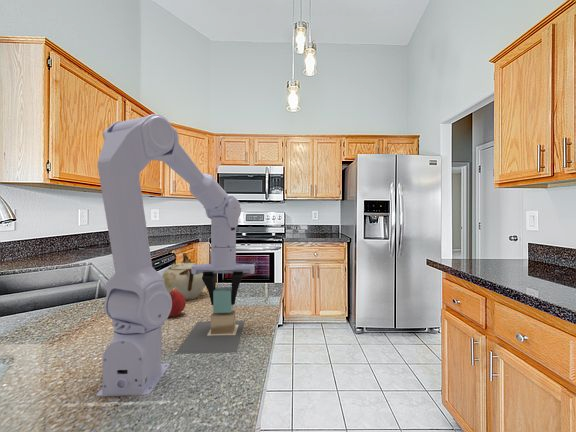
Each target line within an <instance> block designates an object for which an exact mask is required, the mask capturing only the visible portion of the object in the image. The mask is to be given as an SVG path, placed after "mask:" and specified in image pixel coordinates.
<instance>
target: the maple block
mask: <svg viewBox="0 0 576 432" xmlns="http://www.w3.org/2000/svg"><path fill="white" fill-rule="evenodd" d="M210 321H211V334H233V332H234V329H235V321H236V309H232V311H231V313H212V314H211V316H210Z"/></svg>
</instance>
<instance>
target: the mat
mask: <svg viewBox="0 0 576 432" xmlns="http://www.w3.org/2000/svg"><path fill="white" fill-rule="evenodd" d="M245 322H246V321H245V320H235V329H234V332H233V334H211V320H210V321H197V322H196V323H195V325H194V326H193V328H192V329H191V330H190V332H189V333H188V335H187V336H186V338H185V339H184V340H183V342H182V343H181V344H180V346H179V348H178V349H177V350H176V352H175V354H174V355H180V354H181V355H182V354H183V355H184V354H185V355H188V354H190V355H191V354H222V353H223V354H224V353H225V354H227V353H230V354H231V353H237V352H238V349H239V345H240V341H241V337H242V334H243V333H242V332H243V330H244V325H245Z"/></svg>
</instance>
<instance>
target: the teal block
mask: <svg viewBox="0 0 576 432" xmlns="http://www.w3.org/2000/svg"><path fill="white" fill-rule="evenodd" d="M231 297H232V286H216V289H215V290H214V291H213V305H212V307H213V308H212V309H213V311H212V312H213V313H231V311H232V310H234V305H231ZM213 313H212V314H213Z"/></svg>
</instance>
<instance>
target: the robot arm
mask: <svg viewBox="0 0 576 432" xmlns="http://www.w3.org/2000/svg"><path fill="white" fill-rule="evenodd" d="M102 136H103V144H102V147H101V150H100V153H99V156H98V159H97V170H98V171H97V172H98V177H99V182H100V188H101V189H100V190H101V194H102V201H103V207H104V212H105V219H106V224H107V231H108V237H109V242H110V247H111V248H110V249H111V254H112V255H111V257H112V261H113V266H114V274H113V275H112V277H110V278H109V279H108V280H107V282H106V284H105V286H106V296H105V300H104V305H103V307H104V308H103V309H104V313H105V314H106V316H107V317H108V318H109V319H110V320H111V322H112V324H111V325H112V327H113V337H112V340H111V342H110V343H109V345H108V346H107V347H106V348H105V350H104V352H103V355H102V373H101V374H102V379H101V380H102V382H101V383H102V388H101V389H100V390H99V391H98V392H97V393H96V394H95V395H96V397H113V396H114V397H116V396H119V397H120V396H144V395H145V396H146V395H147V396H149V394H151V393H152V392H153V391H154V389H155V388H156V386H157V384H158V383H159V381H160V380H161V379H162V377H163V376H164V374H165V372H166V371H167V370H168V368H169V367H170V365H171V363H168V362H167V363H162V362H163V361H162V359H163V357H162V353H163V352H162V351H163V349H162V348H163V347H162V343H163V342H162V336H163V334H162V332H163V331H162V330H163V329H162V328H163V327H162V326H164V325H165V322H166V321H167V319H168V318H169V317H170V316H169V314H170V312H171V308H172V298H171V295H170V294H169V292H168V291H167V289H166V287H165V282H164V279H163V277H162V276H163V275H161V274H160V273H159V272H158V271H157V270H156V269H155V268H154V267H153V263H152V261H153V260H152V255H151V248H150V242H149V235H148V228H147V221H146V215H145V209H144V208H145V207H144V201H143V200H144V199H143V194H142V193H143V192H142V187H141V180H140V174H141V172H142V171H144V169H145V168H146V167H147V165H149V164H150V162H152V161H157V162H163V163H164V164H165V165H167V166H168V167H169V168H170V169H171V170H172V171H174V173H176V174H177V175H178V176H179V177H181V178H182V179H183V180H184V181H185V182H186V183H188V184H189V193H190V194H191V195H192V196H193V197H194V198H195V199H196V200H197V201H198V202H199V203H200V204H201V205H202V206H203V208H204V209H205V214H206V217H207V218H208V219H210V221H211V223H210V224H211V225H210V226H211V228H210V230H211V233H210V235H211V237H210V239H211V240H210V241H211V243H210V245H211V247H210V251H211V252H210V253H211V254H210V257H211V258H210V259H211V260H210V263H203V264H198V265H193V266H192V274H197V273H203V276H202V280H203V282H204V283H205V285H206V286H205V288H206V290H207V293H208V295H209V298H210V304H211V306H213V291H214V290H215V289H216V287H217V286H216V285H217V274H232V275H231V276H230V278H231V279H230V280H231V281H230V282H231V287H232V297H231V305H233V306H235V304H236V299H237V294H238V291H239V287H240V284H241V282H242V279H243V277H244V276H245V274H250V275H252V274H253V275H254V274H255V272H256V271H255V264H253V263H237V261H236V260H237V227H238V225H239V219H240V216H241V213H242V207H241V203H240V201H239V200H238V199H237V198H236V197H235V196H232V195H228V193H227V191H226V190H224V189H223V188H222V186H221V185H220V184H219V183H218V181H216V178H215V177H214V175H212V174H209V173H203V172H202V171H201V170H200V169H199V167H198V166H197V165H196V163H195V162H194V161H193V159H192V158H191V157H190V156H189V154H188V153H187V152H186V150H185V149H184V147H182V145H181V143H179V142H180V140H179V133H178V130H176V129H175V128H174V127H173V126H172V125H171V123H170V121H169V120H168V119H167V118H166V117H165V116H163V115H161V114H159V113H152V114H148V115H147V116H142V117H137V118H132V119H127V120H121V121H120V120H119V121H115V122H113V123H112V124H111V125H110V126H108V127H107V128H106V129H104V130H103V131H102Z"/></svg>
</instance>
